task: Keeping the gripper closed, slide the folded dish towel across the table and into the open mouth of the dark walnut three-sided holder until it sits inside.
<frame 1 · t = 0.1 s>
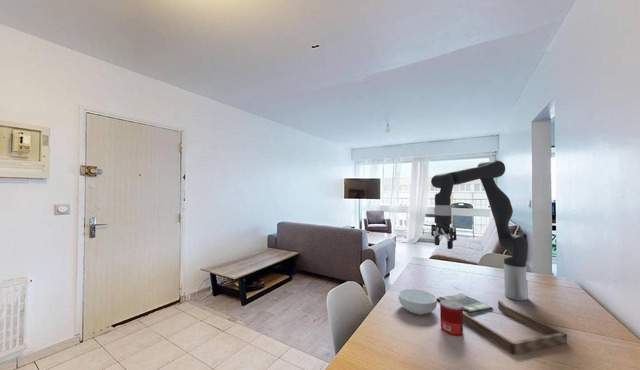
hand: (443, 247, 119), 29 cm above the table, tool pointing down, fingers open, 8 cm apart
canned food: (451, 331, 97), on the table
dish towel: (462, 306, 120), on the table
cereal bowl: (417, 310, 114), on the table
towel holder: (507, 329, 98), on the table
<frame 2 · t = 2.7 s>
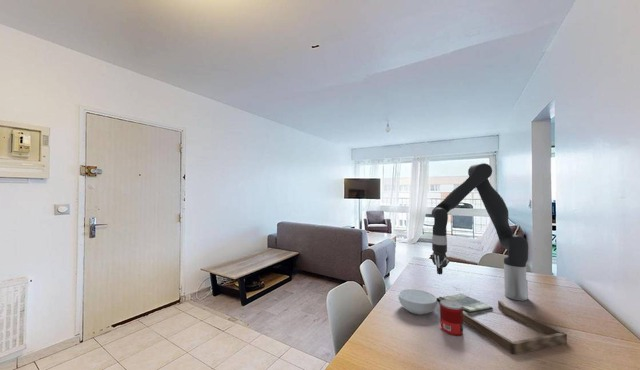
hand: (439, 273, 135), 10 cm above the table, tool pointing down, fingers closed
nothing on the table moved.
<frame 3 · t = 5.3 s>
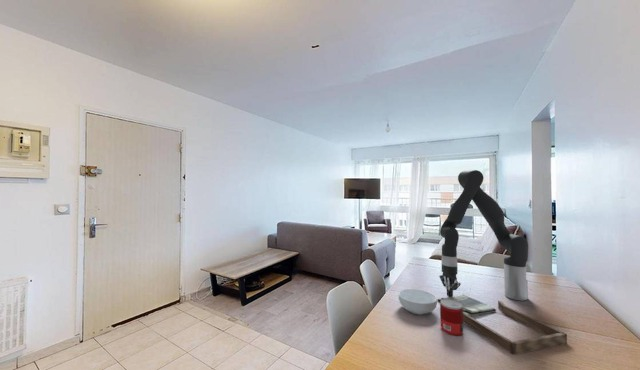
hand: (449, 296, 128), 1 cm above the table, tool pointing down, fingers closed
dish towel: (465, 307, 118), on the table
everything else where it was.
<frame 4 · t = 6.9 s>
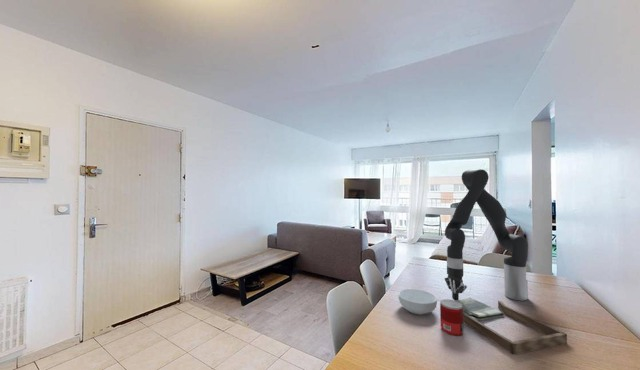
hand: (455, 299, 124), 1 cm above the table, tool pointing down, fingers closed
dish towel: (471, 311, 114), on the table
everything else where it was.
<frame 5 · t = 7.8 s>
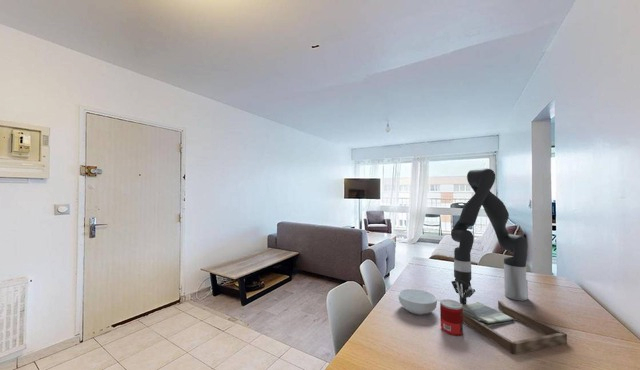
hand: (463, 304, 119), 1 cm above the table, tool pointing down, fingers closed
dish towel: (480, 316, 110), on the table, touching gripper
everything else where it was.
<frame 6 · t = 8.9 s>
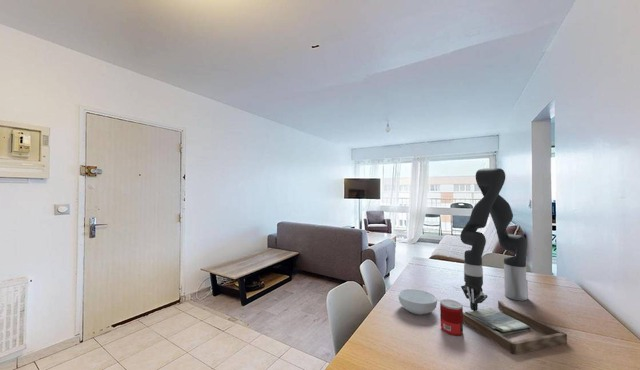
hand: (473, 310, 113), 1 cm above the table, tool pointing down, fingers closed
dish towel: (493, 324, 104), on the table, touching gripper
everything else where it was.
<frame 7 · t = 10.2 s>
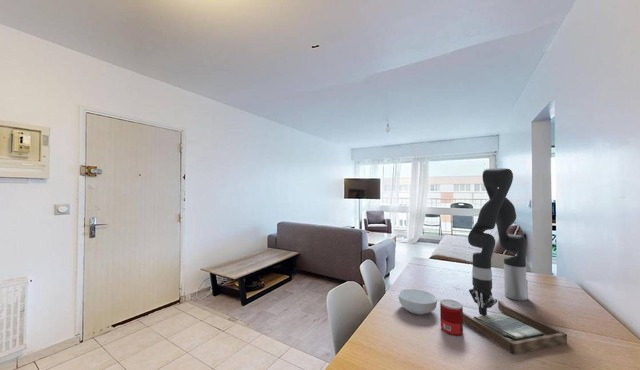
hand: (482, 315, 109), 0 cm above the table, tool pointing down, fingers closed
dish towel: (504, 329, 99), on the table
everything else where it was.
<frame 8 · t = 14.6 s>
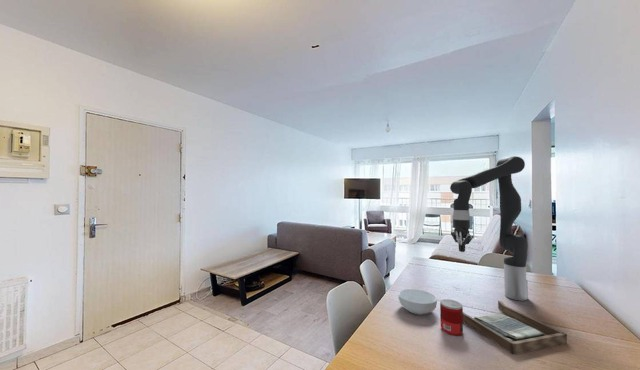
hand: (461, 251, 126), 25 cm above the table, tool pointing down, fingers closed
nothing on the table moved.
at the end: dish towel inside the target area on the towel holder (0.6 cm from its centre), point -0.8 cm above the towel holder's base; dish towel moved 21.4 cm from its start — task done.
